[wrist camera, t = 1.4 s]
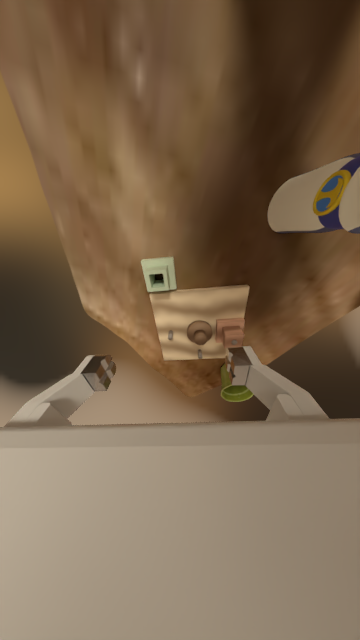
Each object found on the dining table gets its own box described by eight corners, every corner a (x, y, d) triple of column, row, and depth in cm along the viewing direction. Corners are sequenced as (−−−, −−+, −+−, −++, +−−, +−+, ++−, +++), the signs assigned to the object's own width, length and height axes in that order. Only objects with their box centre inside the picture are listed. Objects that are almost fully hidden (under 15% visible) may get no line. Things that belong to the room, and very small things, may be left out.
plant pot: (219, 379, 51) (224, 404, 44) (212, 362, 46) (217, 388, 39) (245, 373, 49) (256, 398, 41) (241, 355, 44) (252, 380, 37)
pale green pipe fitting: (142, 259, 29) (136, 264, 25) (173, 256, 29) (171, 261, 24) (149, 288, 32) (144, 297, 28) (176, 286, 32) (175, 295, 28)
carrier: (150, 292, 33) (143, 305, 27) (247, 284, 31) (261, 297, 26) (164, 356, 45) (161, 375, 39) (234, 353, 43) (242, 372, 38)
